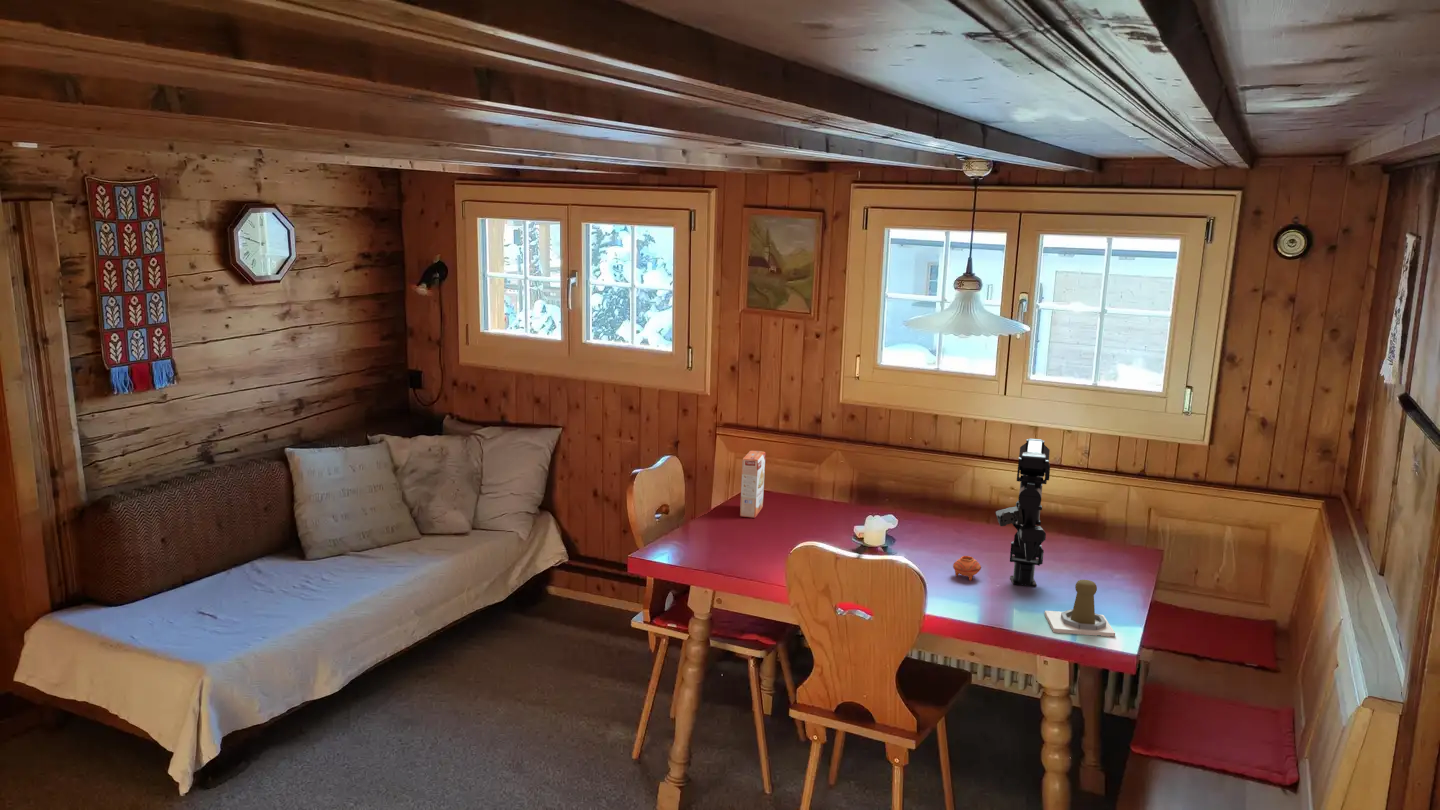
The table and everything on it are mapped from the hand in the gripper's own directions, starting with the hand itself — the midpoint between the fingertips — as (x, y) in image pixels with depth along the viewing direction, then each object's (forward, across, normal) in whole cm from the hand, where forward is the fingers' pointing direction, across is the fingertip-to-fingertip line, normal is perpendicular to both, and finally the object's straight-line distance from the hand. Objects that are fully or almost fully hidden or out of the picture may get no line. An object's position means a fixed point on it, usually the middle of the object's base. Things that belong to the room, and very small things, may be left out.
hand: (1025, 555), depth 270 cm
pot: (+13, -16, -13) cm, 24 cm away
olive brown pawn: (+12, +15, +13) cm, 23 cm away
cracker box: (+13, -68, -81) cm, 107 cm away
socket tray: (+13, +15, +12) cm, 23 cm away
